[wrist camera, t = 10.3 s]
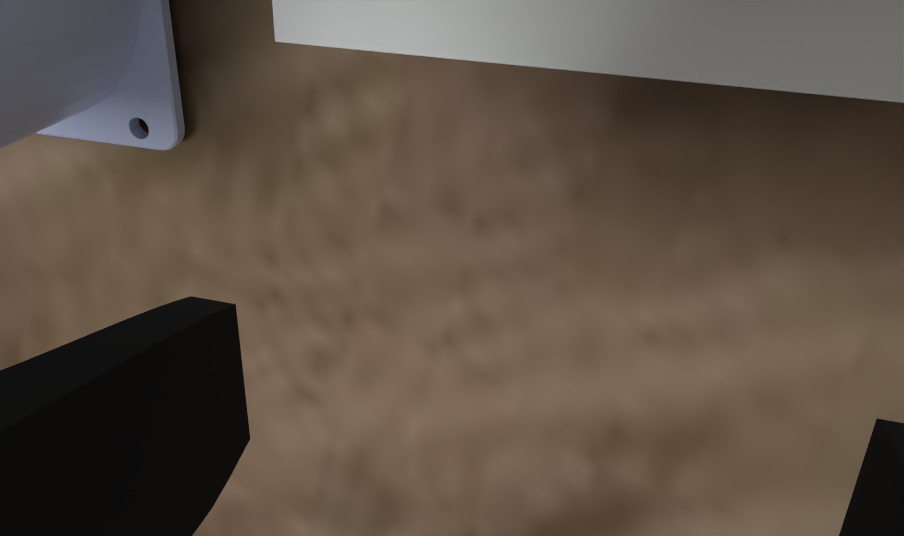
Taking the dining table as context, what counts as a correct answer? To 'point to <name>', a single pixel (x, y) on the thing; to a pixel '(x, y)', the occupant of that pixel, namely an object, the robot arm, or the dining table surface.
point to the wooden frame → (633, 38)
